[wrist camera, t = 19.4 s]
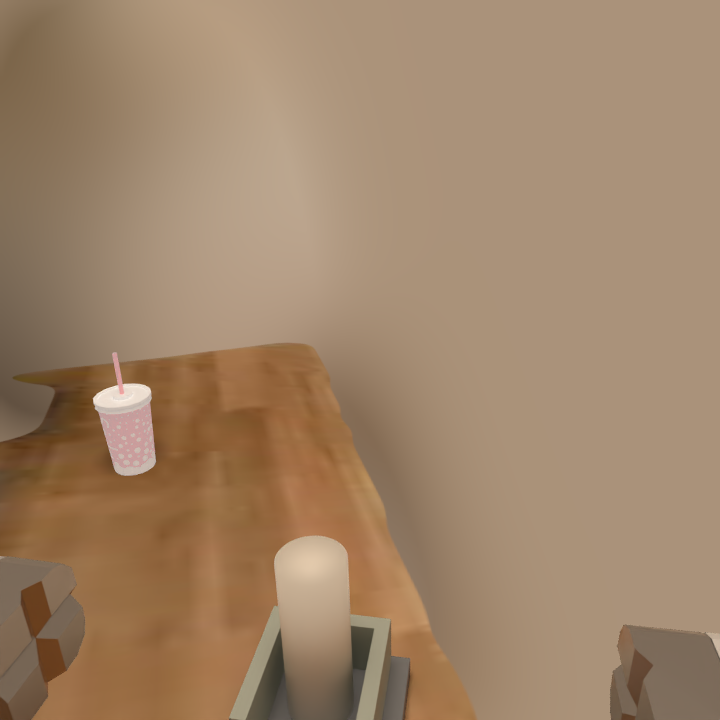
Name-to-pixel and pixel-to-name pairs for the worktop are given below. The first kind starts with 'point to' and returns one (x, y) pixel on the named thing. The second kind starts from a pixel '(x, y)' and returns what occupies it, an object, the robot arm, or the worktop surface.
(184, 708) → the worktop surface
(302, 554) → the tall white cylinder
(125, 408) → the beverage cup
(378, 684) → the cradle jig
